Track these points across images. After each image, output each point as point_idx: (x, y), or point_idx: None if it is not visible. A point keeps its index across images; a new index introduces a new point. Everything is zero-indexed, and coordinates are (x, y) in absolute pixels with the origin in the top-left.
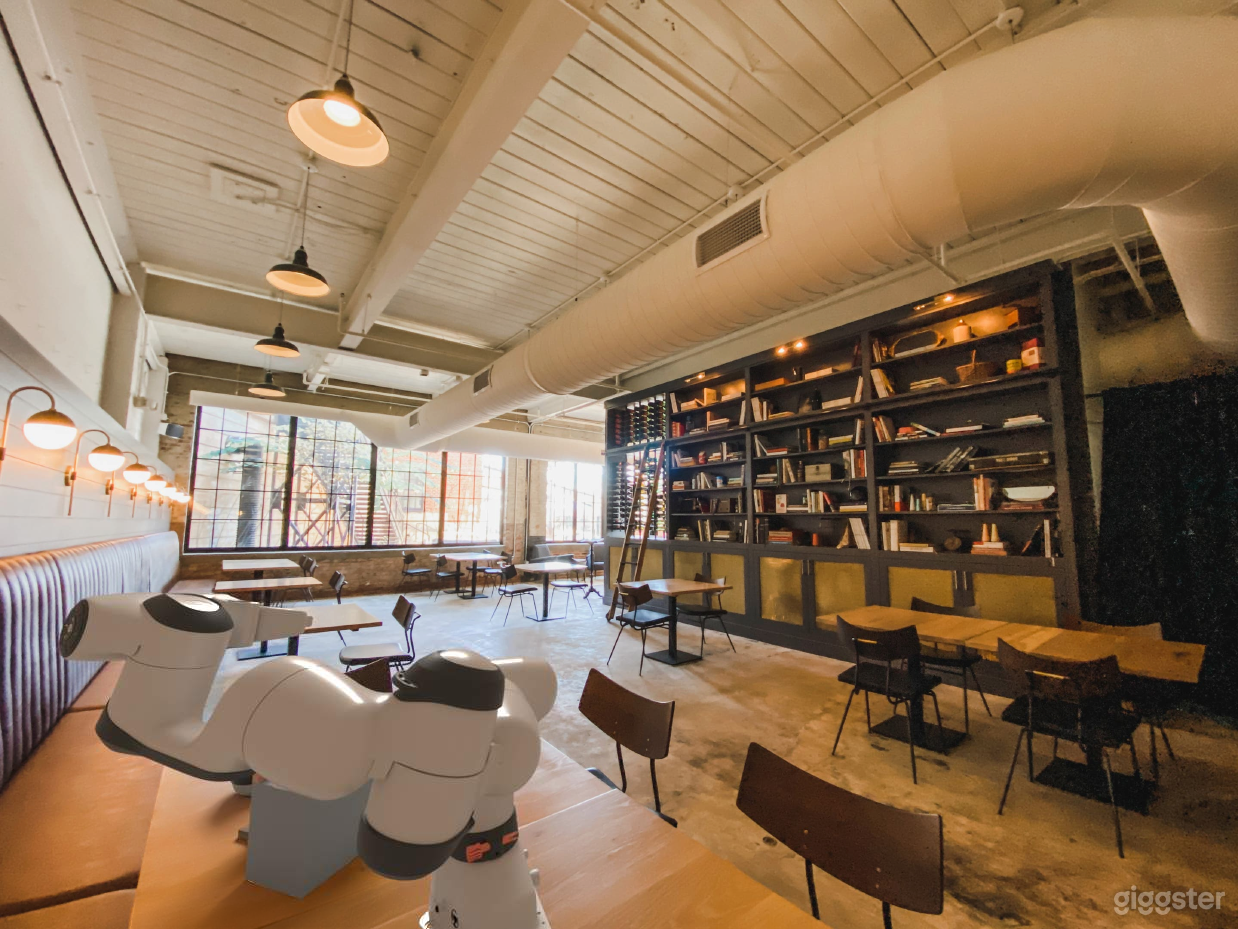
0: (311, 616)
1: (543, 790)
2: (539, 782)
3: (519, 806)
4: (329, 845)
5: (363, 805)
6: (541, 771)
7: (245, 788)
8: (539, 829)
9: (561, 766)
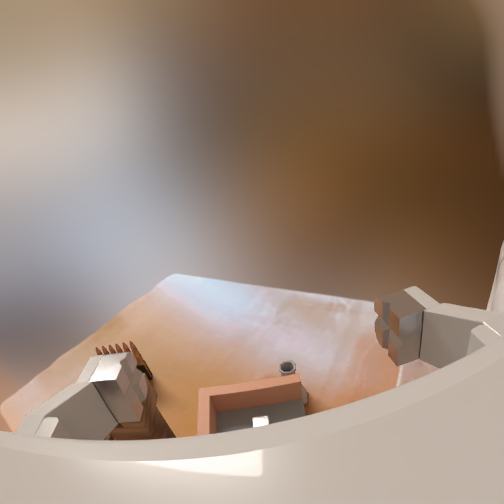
0: (417, 287)
1: (368, 329)
2: (355, 325)
3: (373, 352)
4: None
5: None
6: (341, 315)
7: None
8: (415, 360)
9: (349, 303)
